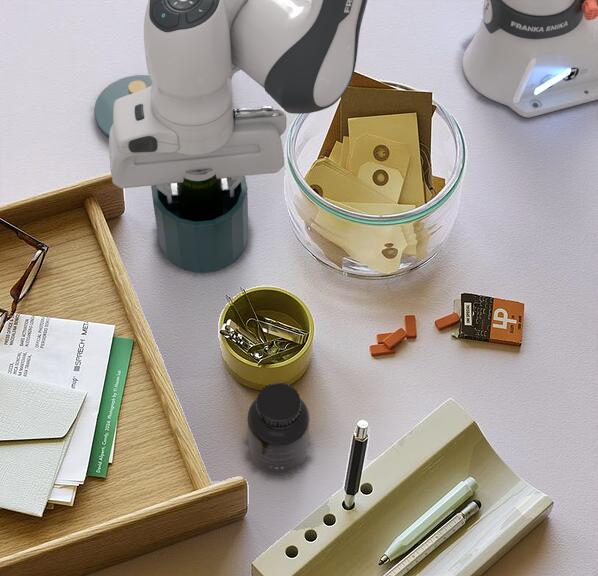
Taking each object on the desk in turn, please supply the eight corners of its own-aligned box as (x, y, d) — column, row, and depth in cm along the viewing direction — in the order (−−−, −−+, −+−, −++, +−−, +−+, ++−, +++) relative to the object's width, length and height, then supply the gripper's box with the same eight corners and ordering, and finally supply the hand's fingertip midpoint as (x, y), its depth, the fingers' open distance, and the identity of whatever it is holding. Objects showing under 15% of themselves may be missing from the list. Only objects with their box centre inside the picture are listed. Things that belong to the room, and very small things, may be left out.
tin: (154, 205, 136) (147, 155, 128) (241, 196, 138) (240, 146, 129) (163, 277, 132) (156, 230, 123) (253, 267, 133) (252, 220, 124)
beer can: (232, 225, 132) (229, 160, 121) (198, 246, 131) (192, 182, 120) (206, 198, 134) (201, 132, 123) (172, 218, 132) (164, 153, 122)
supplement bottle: (249, 422, 123) (248, 371, 112) (308, 424, 123) (312, 373, 112) (246, 475, 120) (245, 428, 109) (306, 478, 120) (310, 431, 109)
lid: (92, 85, 145) (87, 57, 141) (181, 77, 147) (179, 48, 142) (98, 153, 140) (93, 126, 135) (191, 144, 141) (189, 117, 137)
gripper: (282, 84, 118) (280, 167, 130) (99, 101, 116) (115, 184, 128) (291, 127, 115) (288, 207, 127) (103, 145, 113) (119, 225, 125)
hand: (200, 196), depth 128 cm, fingers closed on beer can, 5 cm apart
